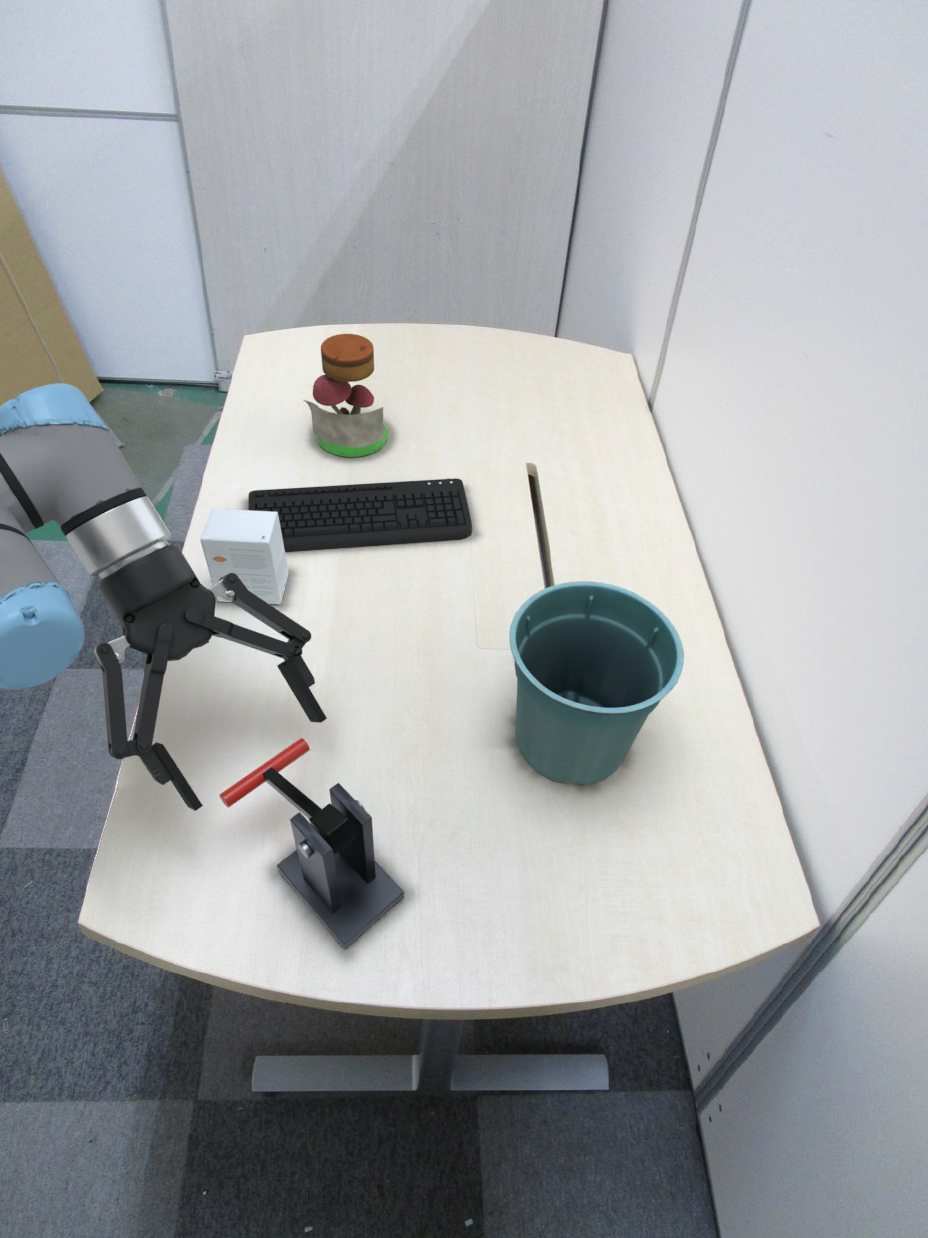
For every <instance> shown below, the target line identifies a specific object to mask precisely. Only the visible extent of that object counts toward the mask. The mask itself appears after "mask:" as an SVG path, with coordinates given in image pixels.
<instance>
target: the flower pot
mask: <svg viewBox="0 0 928 1238" xmlns="http://www.w3.org/2000/svg"><path fill="white" fill-rule="evenodd" d="M508 636H509V647H510V651H511V654H512V658H513V662H514V671H515V676H516V709H515V711H516V712H515V713H516V714H515V739H516V743H517V746H518V749H519V751H520V753H521V755H522V757H523V758H524V759H525V760H526V762H527V763H528V764H529V765H530V766H531V767H532V768H533V769H534V770H535V771H536V772H538V773H539V774H541V775H543V776H544V777H546V778H547V779H550V780H552V781H555V782H558V783H560V784H564V783H572V784H579V785H582V786H584V785H591V784H594V783H595V784H596V783H598V782H600V781H603V780H604V779H607V778H608V777H609V776H611V775H612V774H613V773H616V771H617V770H618V769H619V768H620V766H621V765H622V763H623V762H624V760H625V758H626V756H627V754H628V752H630V749H631V747H632V745H633V744H634V742H635V740H636V739H637V736H638V735H639V733H640V731H641V729H642V728H643V726H644V725H645V722H646V721H647V719H648V717H649V715H650V714H651V713H652V712H654V710H655V709H656V708H657V707H658V706H659V704H660V702H661V701H662V700H663V699H664V698H665V697H666V696H667V695H668V694H669V693H670V692H671V691H672V690H673V689H674V688H675V686H676V685H677V684H678V682H679V679H680V678H681V675H682V672H683V668H684V663H685V662H684V661H685V652H684V647H683V642H682V638H681V637H680V634H679V632H678V630H677V629H676V627H675V626H674V625H673V623H672V622H671V620H670V618H668V617H667V615H666V614H665V613H664V612H663V611H661V609H659V608H658V607H657V606H656V605H655V604H653V603H652V602H651V601H649V600H648V599H646V598H644V597H643V596H641V595H639V594H638V593H636V592H634V591H632V590H629V589H627V588H625V587H621V586H618V585H613V584H611V583H605V582H600V581H590V580H578V581H569V582H562V583H559V584H555V585H551V586H548V587H545V588H543V589H541V590H539V591H537V592H536V593H534V594H533V595H531V596H530V597H529V598H527V599H526V600H525V601H524V602H523V604H521V605H520V607H518V609H517V611H516V612H515V614H514V616H513V618H512V621H511V624H510V626H509V635H508Z"/></svg>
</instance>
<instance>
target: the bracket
mask: <svg viewBox="0 0 928 1238" xmlns="http://www.w3.org/2000/svg"><path fill="white" fill-rule="evenodd" d="M328 791H329V796H330V804H331V805H333V806H334V807H335V808H336V809H337V810H339V811H340V812H341V813H342V814H344V815H345V816H346V817H347V818H348V819H349V821H350V824H351V826H352V829H353V831H354V834H355V836H356V838H355V839H354V840H353V841H351V842H350V843H349V844H348V845H346V846H345V847H344V848H343V849H342V850H340V851H339V852H338V853H337V854H334V853H333V849H332V847H331V846H330V845H329V844H328V843H327V842H326V841H325V839H324V838H323V837H322V836H321V835H320V834H319V833H318V832H317V831H316V830H315V828H314V827H313V826H312V825H311V823H310V821H309V820H308V819H307V817H306V816H305V815H304V814H303V813H301V812H300V811H299V812H297V813H296V814H294V815H293V816H292V817H291V818H289V821H290V825H291V826H290V827H291V830H292V834H293V839H294V843H295V847H296V850H294V851H293V852H292V853H290V854H289V855H288V856H287V857H285V858H284V859H283V860H282V861H280V862H278V863H277V865H276V868H277V871H278V872H279V874H280V875H281V876H282V877H283V879H284V880H286V882H287V883H288V885H290V886H291V888H292V889H293V890H294V891H295V893H296V894H297V895H298V896H299V897H300V898H301V900H302V901H303V902H304V904H305V905H306V906H307V907H308V908H309V910H311V912H312V913H313V914H314V915H315V916H316V918H317V919H318V920H319V921H320V923H322V925H323V926H324V927H325V929H327V931H328V932H329V934H331V936H332V937H333V938H334V939H335V940H336V941H337V943H338V944H339V945H340V946H341V947H342V949H343V950H347V948H348V947H350V946H351V945H352V944H353V943H354V942H355V941H356V940H357V939H358V938H360V937H361V936H362V935H363V934H364V933H365V932H367V931H368V930H369V929H370V928H371V927H372V926H373V925H374V924H375V923H377V922H378V921H379V920H380V919H381V918H382V917H383V916H385V915H386V914H387V913H388V912H389V911H390V910H391V909H393V908H394V907H395V906H396V905H397V904H398V903H399V902H400V901H401V900H403V899H404V898H405V891H404V890H403V889H402V887H400V886H399V885H398V884H397V882H396V881H394V879H393V878H392V877H391V876H390V875H389V874H388V873H387V872H386V871H385V869H383V868H382V866H381V865H380V864H379V863H378V862H377V861H376V860H375V844H374V843H375V842H374V830H373V829H374V828H373V818H372V815H370V813H368V812H367V810H366V808H365V807H364V805H363V804H362V803H361V802H360V800H358V799H355V798H354V797H353V796H352V795H351V794H350V792H349V791H348V790H347V789H345V788H344V786H342V785H341V783H339V782H337V783H336V784H334V785H333V786H332V787H331V788H329V790H328Z"/></svg>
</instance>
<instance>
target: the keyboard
mask: <svg viewBox="0 0 928 1238" xmlns="http://www.w3.org/2000/svg"><path fill="white" fill-rule="evenodd" d="M247 507H248V509H247V510H251V511H271V512H278V516H279V522H280V527H281V533H282V538H283V544H284V549H285V553H289V552H291V553H293V552H303V551H304V552H305V551H319V550H332V549H333V550H334V549H348V548H361V547H376V546H388V545H390V546H391V545H400V544H401V545H403V544H418V543H432V542H445V541H458V540H463V539H467V538H469V537H470V536H472V532H473V523H472V522H473V521H472V518H471V517H472V516H471V513H470V508H469V504H468V499H467V496H466V490H465V486H464V482H463V480H462V479H460V478H440V479H438V478H437V479H424V480H421V479H420V480H406V481H389V482H374V483H372V482H371V483H355V484H338V485H324V486H323V485H321V486H306V487H288V488H270V489H255V490H251V491H249V492H248V506H247Z"/></svg>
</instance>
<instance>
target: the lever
mask: <svg viewBox="0 0 928 1238" xmlns="http://www.w3.org/2000/svg"><path fill="white" fill-rule="evenodd" d="M310 750H311V748H310V746H309V744H308V741H306V740H305V738H302V737H300V738H298V739H297V740H296V741H295V742H293V743H291V744H290V745H288V746H287V747H285V748H284V749H283V750H282V751H280V752H278V753H277V754H276V755H274V756H273V757H271V758H270V759H268V760H267V761H265V762H264V763H262V764H261V765H260V766H258V767H257V768H255V769H254V770H253V771H251V772H250V773H248V774H247V775H245V776H244V777H243V778H241V779H240V780H237V782H236V783H234V784H232V785H231V786H229V787H228V788H227V789H225V790H224V791H222V792H221V793H219V798H220V800H221V802H222V803H223V804H224V806H225V807H226V808H228V809H229V808H231V807H233V805H234V804H236V803H237V802H239V801H241V799H243V798H245V797H246V796H248V795H249V794H251V793H252V792H254V791H255V790H256V789H257V788H259V787H260V786H261V785H263V784H264V783H266V784H268V785H269V786H270V787H271V788H272V789H274V790H275V791H276V792H277V793H278V794H280V795H281V796H282V797H283V798H284V799H285V800H286V801H287V802H288V803H290V804H291V805H292V806H293V807H295V808H296V810H298V811H299V812H300V813H301V814H302V815H303V816H304V817H305V818H306V819H307V820H308V822H309V823H310V824H311V825H312V826H313V827H314V828H315V830H316V831H317V832H318V833H319V834H320V835H321V836H322V837H323V838H324V839H325V841H326V842H327V843H328V844H329V845H330V846H331V847H332V849H333V853H334V854H337V853H338V852H339V851H340V850H342V849H343V848H344V847H345V846H346V845H348V844H349V843H350V842H351V841H353V840H354V839H355V838H356V836H355V834H354V831H353V829H352V826H351V824H350V821H349V819H348V818H347V817H346V816H345V815H344V814H342V813H341V812H340V811H339V810H337V809H336V808H335V807H334V806H333V805H331V802H329V803H328V804H326V805H325V806H324V807H323V808H321V807H320V805H318V804H317V803H315V801H313V800H312V799H311V798H310V797H308V796H307V795H306V794H305V793H304V792H302V791H301V790H300V789H299V788H298V787H297V786H295V785H294V784H293V783H292V782H290V781H289V780H288V779H287V778H286V777H285V776H283V775H282V774H281V773H280V772H281V771H283V770H284V769H285V768H287V767H288V766H290V765H291V764H292V763H294V762H295V761H297V760H299V758H301V757H303V756H304V755H305V754H307V753H308V752H310Z"/></svg>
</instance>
